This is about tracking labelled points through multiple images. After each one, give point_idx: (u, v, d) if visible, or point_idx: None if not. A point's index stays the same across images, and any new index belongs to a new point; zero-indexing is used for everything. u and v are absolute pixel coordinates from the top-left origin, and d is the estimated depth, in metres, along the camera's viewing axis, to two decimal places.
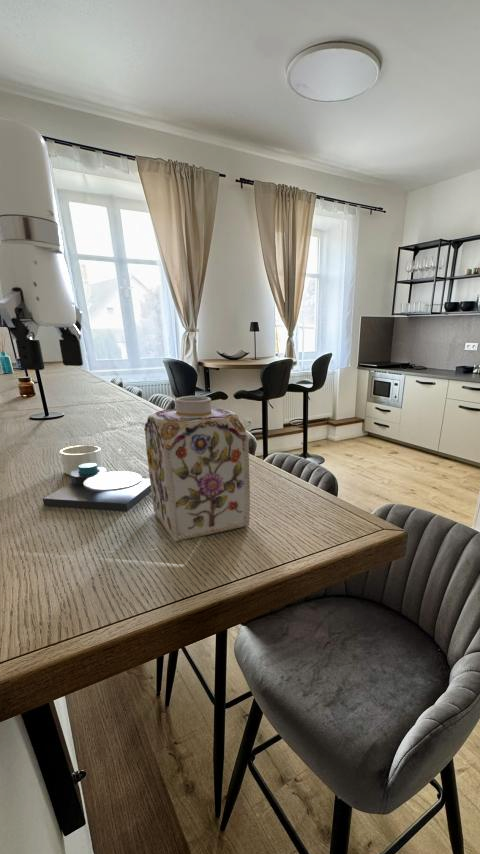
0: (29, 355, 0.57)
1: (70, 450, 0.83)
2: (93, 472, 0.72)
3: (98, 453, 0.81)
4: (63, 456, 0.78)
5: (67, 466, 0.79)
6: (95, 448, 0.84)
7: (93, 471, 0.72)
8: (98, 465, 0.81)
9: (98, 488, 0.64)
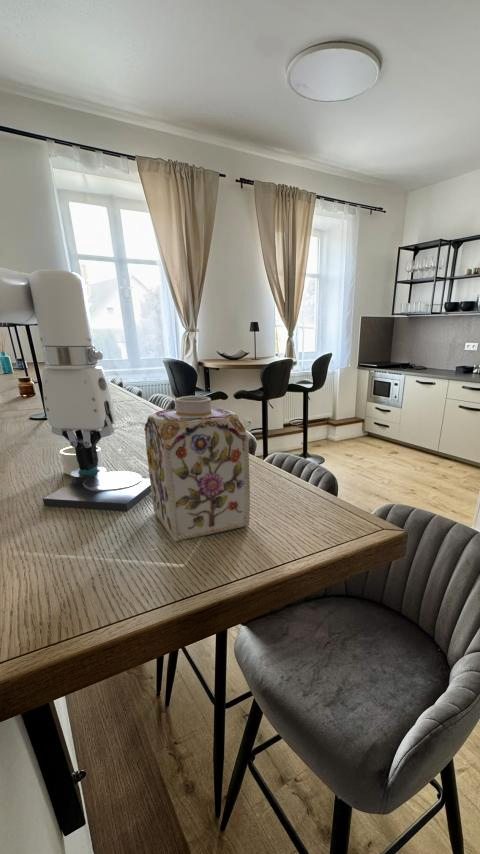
0: None
1: (70, 450, 0.83)
2: None
3: (98, 453, 0.81)
4: (63, 456, 0.78)
5: (67, 466, 0.79)
6: None
7: (93, 473, 0.72)
8: (98, 465, 0.81)
9: (98, 488, 0.64)
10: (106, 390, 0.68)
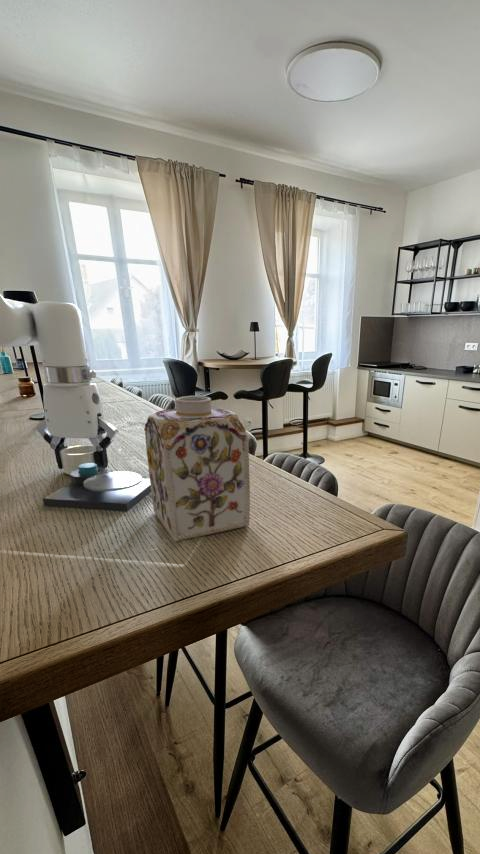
0: None
1: (70, 450, 0.83)
2: (93, 472, 0.72)
3: None
4: (63, 456, 0.78)
5: (67, 466, 0.79)
6: None
7: (93, 471, 0.72)
8: None
9: (98, 488, 0.64)
10: (99, 404, 0.78)
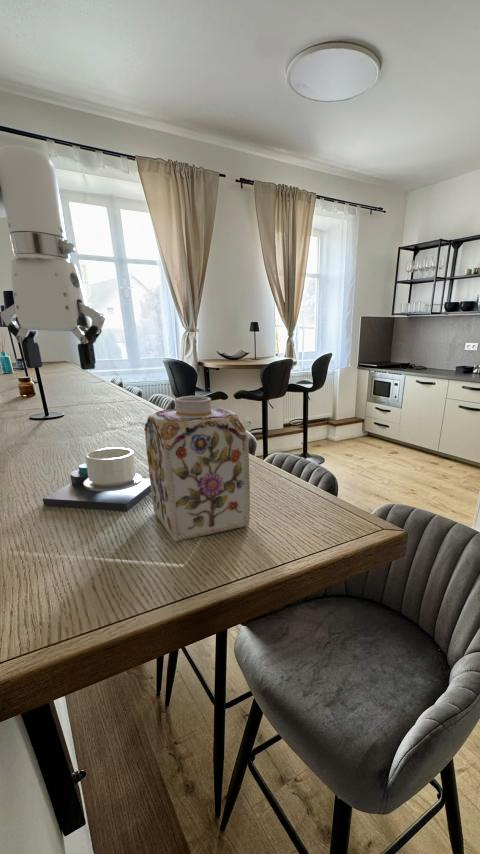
0: None
1: (97, 454, 0.68)
2: None
3: (131, 457, 0.66)
4: (90, 461, 0.64)
5: (94, 474, 0.64)
6: (126, 451, 0.69)
7: None
8: (131, 472, 0.67)
9: (98, 488, 0.64)
10: (79, 288, 0.65)
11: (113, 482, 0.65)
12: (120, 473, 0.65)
